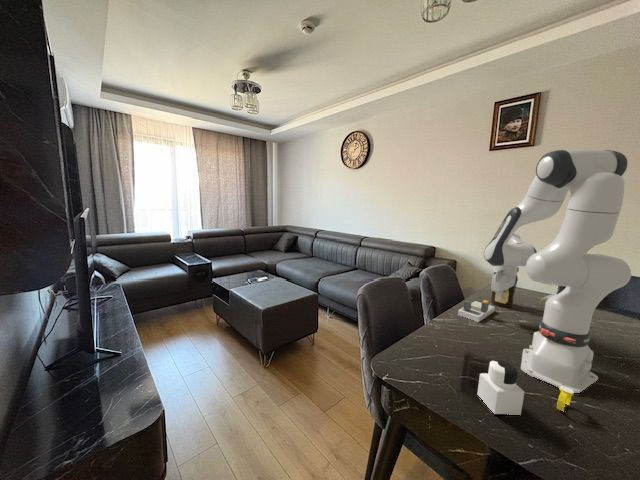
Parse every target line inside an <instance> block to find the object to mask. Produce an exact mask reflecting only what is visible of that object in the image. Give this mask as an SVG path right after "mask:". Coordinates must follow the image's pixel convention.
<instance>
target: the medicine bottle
mask: <svg viewBox="0 0 640 480" xmlns="http://www.w3.org/2000/svg"><path fill="white" fill-rule="evenodd" d="M518 374H519V373H518V370H517V369H516V367H515V366H514V365H512V364H510V363H509V362H506V361H503V360H499V359H494V360H493V359H492V360H491V361H490V362H489V365H488V373H485V372H482V373H479V376H478V377H479V378H478V379H479V380H478V386H477V393H476V394H477V395H478V396H479V397H480V398H481V399H482V400H483V402H484V403H485V404H486V405H487V407H488V408H489V409H490V410H491V411H492V412H493V413H494V414H507V415H508V414H509V415H520V416H521V415H522V409H523V403H524V396H525V391H524V390H523V389H522V388H521V387H520V386H519V385H518V384H517V379H518ZM477 395H476V396H477ZM478 396H477V397H478ZM479 397H478V398H479ZM480 398H479V399H480ZM481 399H480V400H481ZM483 402H482V403H483ZM484 403H483V404H484ZM485 404H484V405H485ZM486 405H485V406H486ZM487 407H486V408H487ZM488 408H487V409H488ZM489 409H488V410H489ZM490 410H489V411H490ZM491 411H490V412H491ZM492 412H491V413H492Z"/></svg>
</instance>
